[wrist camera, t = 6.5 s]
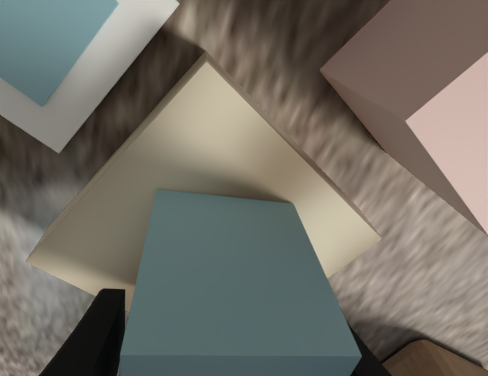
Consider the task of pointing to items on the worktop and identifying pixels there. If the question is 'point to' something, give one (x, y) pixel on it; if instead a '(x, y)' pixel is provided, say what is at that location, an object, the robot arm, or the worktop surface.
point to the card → (68, 58)
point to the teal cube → (232, 294)
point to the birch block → (195, 184)
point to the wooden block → (430, 362)
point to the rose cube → (425, 94)
